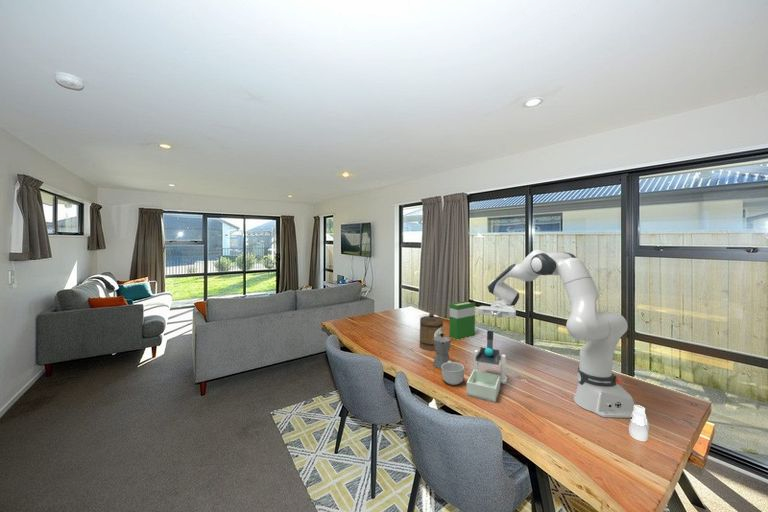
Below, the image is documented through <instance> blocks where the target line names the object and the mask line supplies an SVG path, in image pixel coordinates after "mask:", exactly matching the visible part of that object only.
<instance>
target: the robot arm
mask: <svg viewBox="0 0 768 512" xmlns="http://www.w3.org/2000/svg"><path fill="white" fill-rule="evenodd" d="M540 276H559V277H560V279H561V280H562V281H561V283H562V284H563V287H564V289H565V292H566V294H567V296H568V300H569V303H570V315H569V317H568V319H567V320H566V323H565V325H566V330H567V333H568V335H569V336H571V338H572V339H575V340H577V341H583V342H585V341H586V342H585V344H584V345H583V346H582V347H581V348H580V350H579V362H578V365H579V366H578V369H577V374H576V375H577V376H576V377H577V378H576V379H577V387H576V390H575V393H574V396H573V401H574V403H575V404H577V405H578V406H579V407H581V408H582V409H585V410H587V411H589V412H592V413H595V414H596V415H598V416H600V417H602V418H618V419H619V418H620V419H621V418H622V419H632V418H631V414H632V411H633V406H634V405H635V402H634V398H633V397H632V395H631V394H630V393H629V392H628V391H627V390H625V389H624V387H622V386H621V385H622V384H623V383H624V382H623V379H622V378H620V377H618V376H617V375H615V374H614V373H613V360H614V353H615V350H616V348H617V346H618V343H619V341H620V339H621V338H622V336H623V335H624V334H625V333H626V332H627V331H628V322H627V320H626V319H625V317H624V316H623V315H622V314H621V313H618V312H614V311H607V310H606V311H605V310H604V311H598V307H597V301H598V300H599V298H600V293H599V290H598V288H597V285H596V284H595V281H594V280H593V277H592V274H591V273H590V271H589V269H588V267H587V266H586V265H585V263H584V261H582V259H580V258H578V257H577V256H576V255H574V254H573V253H570V252H554V251H551V252H546V251H544V250H542V249H534V250H532V251H531V252H529V254H527V256H526V257H525V258H524V259H523V260H522V261H521V262H520V263H517V264H516V263H513V264H511V265H509V266H508V267H507V268H506V269H504V270H503V271H502V272H501V273H500V274H499V275H497V276H496V277H495V278H493V279H491V281H489V283H488V284H487V290H488V293H490V294H491V295H493V296H495V297H497V299H495V300H494V301H493V302H492V304H491V305H490V306H489V305H480V306H478V307H477V310H476V311H477V314H478V315H483V316H491V317H495V318H498V319H499V318H510V319H516V318H517V310H516V308H515V306H516V304H517V303H518V301H519V299H520V293H519V291H518V290H516V289H515V288H513V287H512V286H510V285H509V284H507V283H506V282H504V281H505V280H507V279H508V278H514V279H518V280H520V281H523V282H533V281H535V280H537V279H538V278H539V277H540Z"/></svg>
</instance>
